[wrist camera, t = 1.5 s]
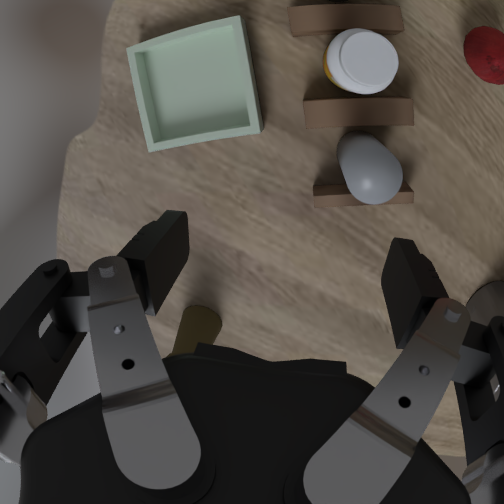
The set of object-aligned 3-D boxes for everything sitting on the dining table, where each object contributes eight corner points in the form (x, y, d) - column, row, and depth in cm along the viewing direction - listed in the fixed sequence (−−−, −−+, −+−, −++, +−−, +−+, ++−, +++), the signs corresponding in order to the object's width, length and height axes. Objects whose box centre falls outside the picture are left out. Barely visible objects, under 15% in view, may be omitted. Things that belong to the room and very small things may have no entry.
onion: (496, 84, 21) (540, 93, 14) (454, 78, 22) (494, 83, 15) (490, 34, 18) (533, 31, 11) (447, 25, 19) (485, 16, 12)
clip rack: (375, -51, 16) (381, -61, 14) (405, 192, 30) (413, 203, 27) (274, -48, 18) (271, -60, 16) (314, 196, 32) (314, 208, 29)
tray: (244, 20, 23) (239, 15, 21) (263, 129, 29) (260, 133, 27) (138, 49, 26) (126, 48, 24) (159, 146, 32) (148, 152, 29)
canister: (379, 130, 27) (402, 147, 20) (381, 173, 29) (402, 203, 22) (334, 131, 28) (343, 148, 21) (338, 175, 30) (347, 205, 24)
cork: (181, 301, 43) (152, 359, 34) (223, 310, 43) (201, 373, 33) (183, 330, 46) (158, 386, 37) (221, 338, 46) (201, 398, 37)
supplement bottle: (338, 29, 22) (353, 6, 14) (387, 59, 23) (421, 52, 15) (312, 72, 25) (315, 67, 17) (360, 101, 26) (384, 111, 18)
